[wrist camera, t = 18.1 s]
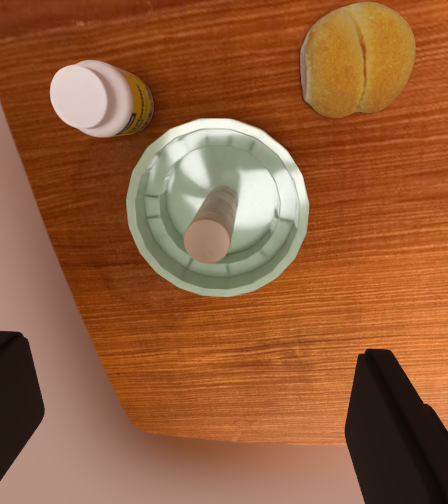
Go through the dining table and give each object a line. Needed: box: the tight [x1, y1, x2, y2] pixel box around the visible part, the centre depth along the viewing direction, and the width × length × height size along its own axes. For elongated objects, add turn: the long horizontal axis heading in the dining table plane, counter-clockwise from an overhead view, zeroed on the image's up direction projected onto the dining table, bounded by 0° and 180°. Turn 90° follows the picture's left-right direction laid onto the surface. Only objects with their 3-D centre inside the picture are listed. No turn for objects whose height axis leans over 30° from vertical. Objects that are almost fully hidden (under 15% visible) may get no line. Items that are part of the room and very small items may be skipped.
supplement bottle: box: [50, 60, 154, 137], centre depth 27 cm, size 5×5×10 cm
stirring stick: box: [184, 186, 238, 263], centre depth 28 cm, size 3×3×12 cm
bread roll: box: [300, 2, 416, 118], centre depth 27 cm, size 8×9×4 cm
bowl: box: [126, 118, 309, 297], centre depth 32 cm, size 16×16×6 cm
